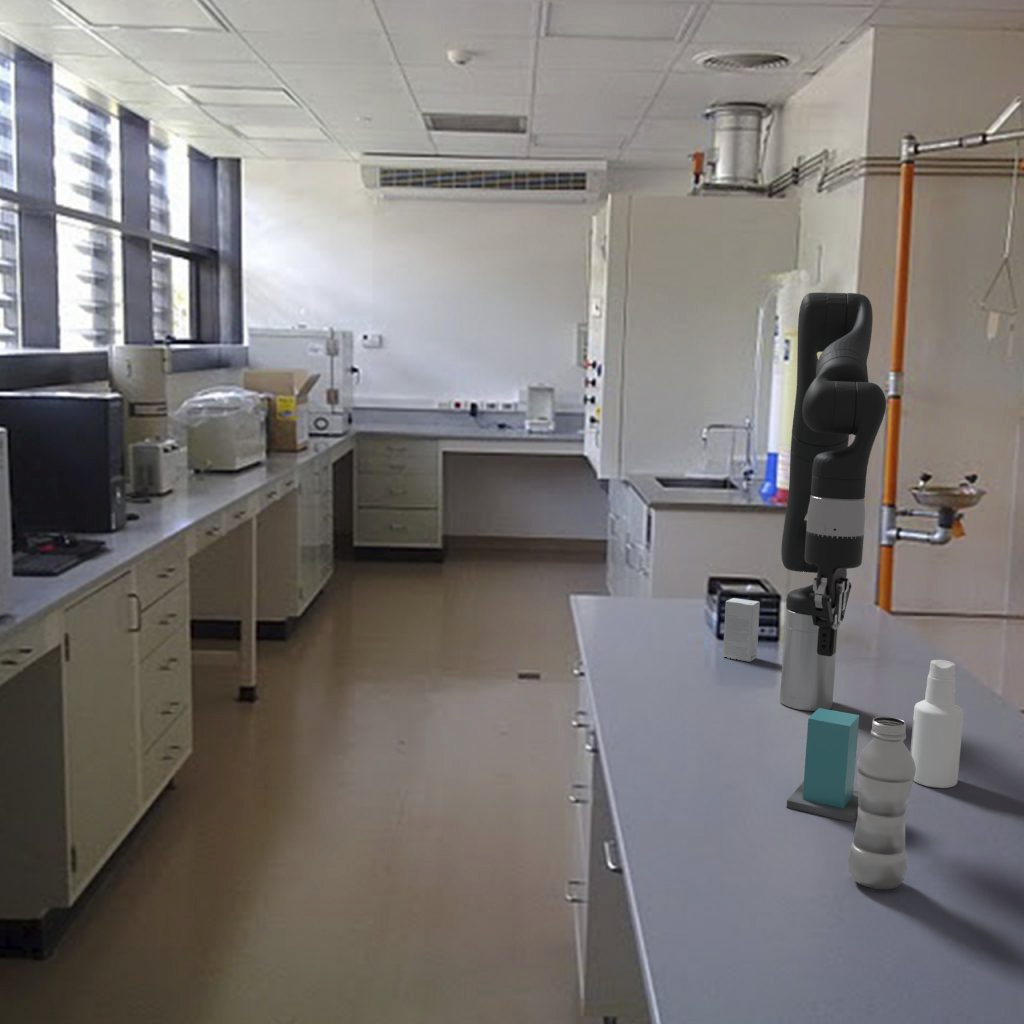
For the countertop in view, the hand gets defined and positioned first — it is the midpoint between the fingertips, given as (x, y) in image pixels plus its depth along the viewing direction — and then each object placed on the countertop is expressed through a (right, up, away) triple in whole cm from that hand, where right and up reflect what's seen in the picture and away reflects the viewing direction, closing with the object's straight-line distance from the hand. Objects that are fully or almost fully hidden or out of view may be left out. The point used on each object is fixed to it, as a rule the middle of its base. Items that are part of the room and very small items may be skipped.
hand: (826, 654), depth 154 cm
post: (+1, -21, +2) cm, 21 cm away
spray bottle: (+19, -21, +13) cm, 31 cm away
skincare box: (+4, -11, +77) cm, 78 cm away
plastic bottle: (0, -25, -21) cm, 32 cm away
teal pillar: (+1, -20, +2) cm, 20 cm away
